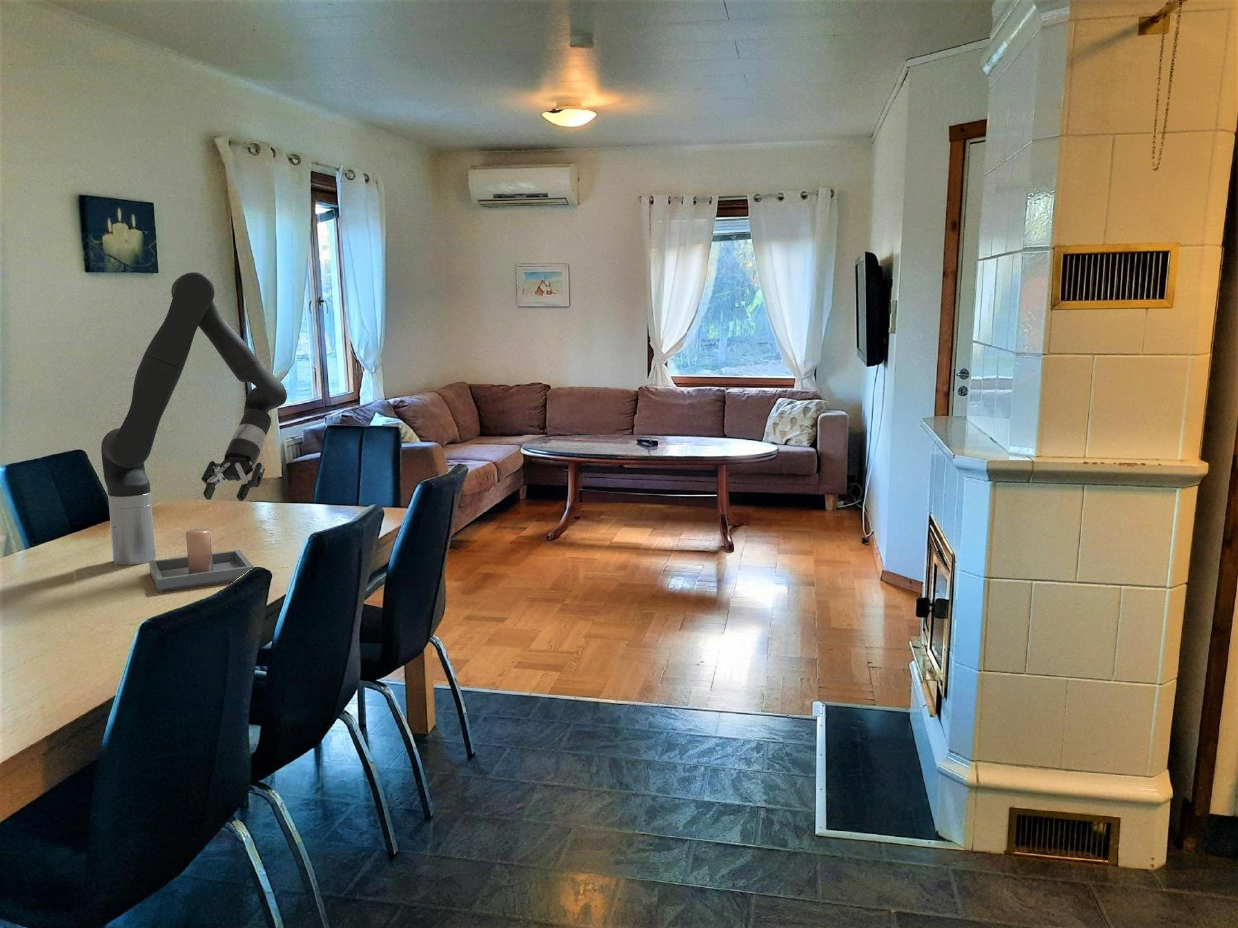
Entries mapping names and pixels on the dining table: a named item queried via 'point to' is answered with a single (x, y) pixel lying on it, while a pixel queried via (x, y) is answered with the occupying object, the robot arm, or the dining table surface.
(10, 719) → the dining table surface
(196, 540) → the terracotta canister
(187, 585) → the charcoal tray
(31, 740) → the dining table surface
